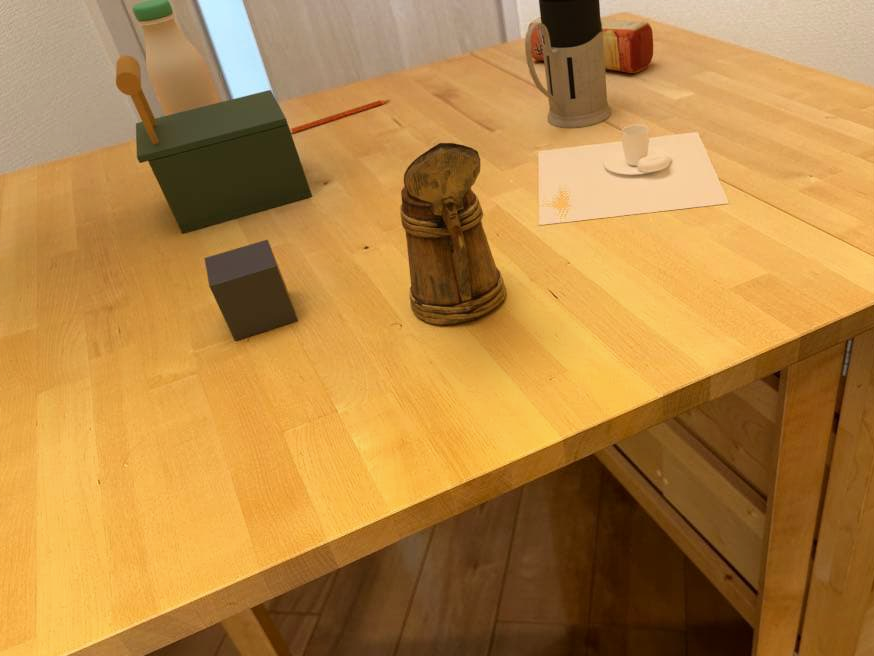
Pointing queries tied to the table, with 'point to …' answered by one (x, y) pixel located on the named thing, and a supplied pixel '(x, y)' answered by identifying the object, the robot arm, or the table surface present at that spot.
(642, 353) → the table surface
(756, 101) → the table surface
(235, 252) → the block
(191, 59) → the milk bottle
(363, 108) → the pencil
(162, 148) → the lid
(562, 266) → the table surface
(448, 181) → the wooden mug
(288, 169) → the chest
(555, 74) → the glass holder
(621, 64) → the snack package
